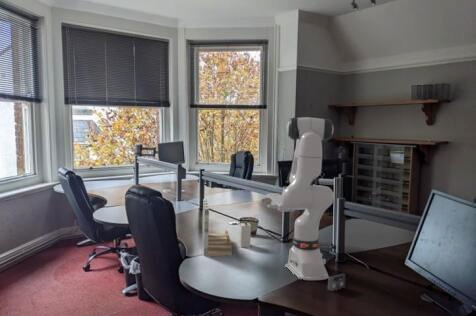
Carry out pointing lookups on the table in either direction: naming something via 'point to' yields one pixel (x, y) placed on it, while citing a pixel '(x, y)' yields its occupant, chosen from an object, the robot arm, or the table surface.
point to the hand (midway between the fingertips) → (264, 203)
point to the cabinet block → (245, 234)
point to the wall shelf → (214, 238)
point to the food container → (253, 224)
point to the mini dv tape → (336, 282)
